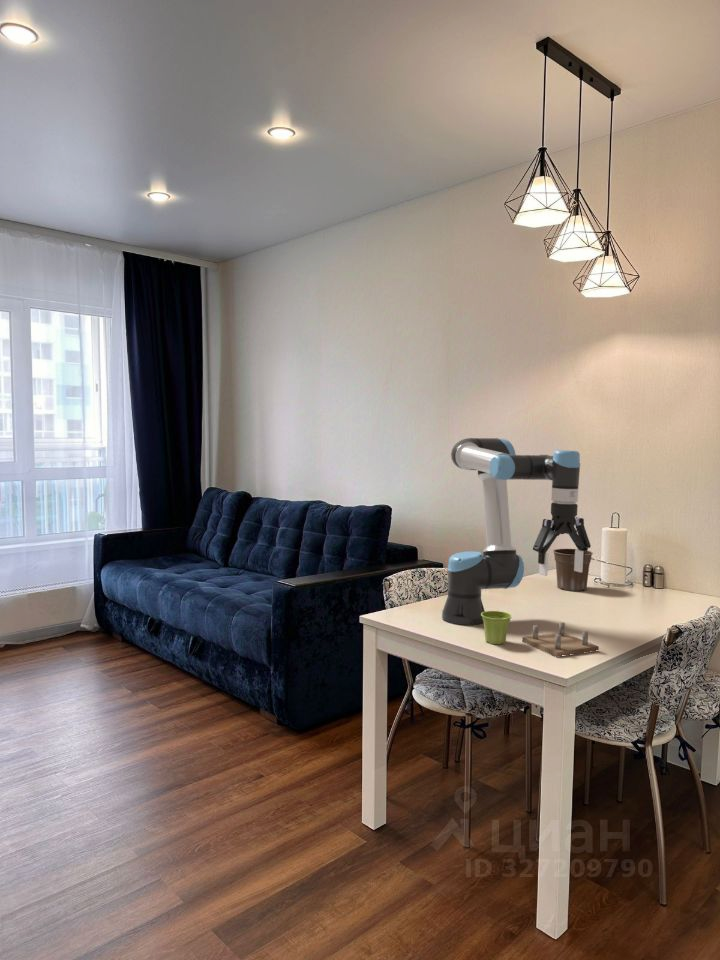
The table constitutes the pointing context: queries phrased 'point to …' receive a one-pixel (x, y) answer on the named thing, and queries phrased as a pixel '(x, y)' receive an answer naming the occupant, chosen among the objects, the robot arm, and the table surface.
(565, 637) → the stand
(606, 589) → the table surface
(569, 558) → the plant pot
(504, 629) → the plant pot
